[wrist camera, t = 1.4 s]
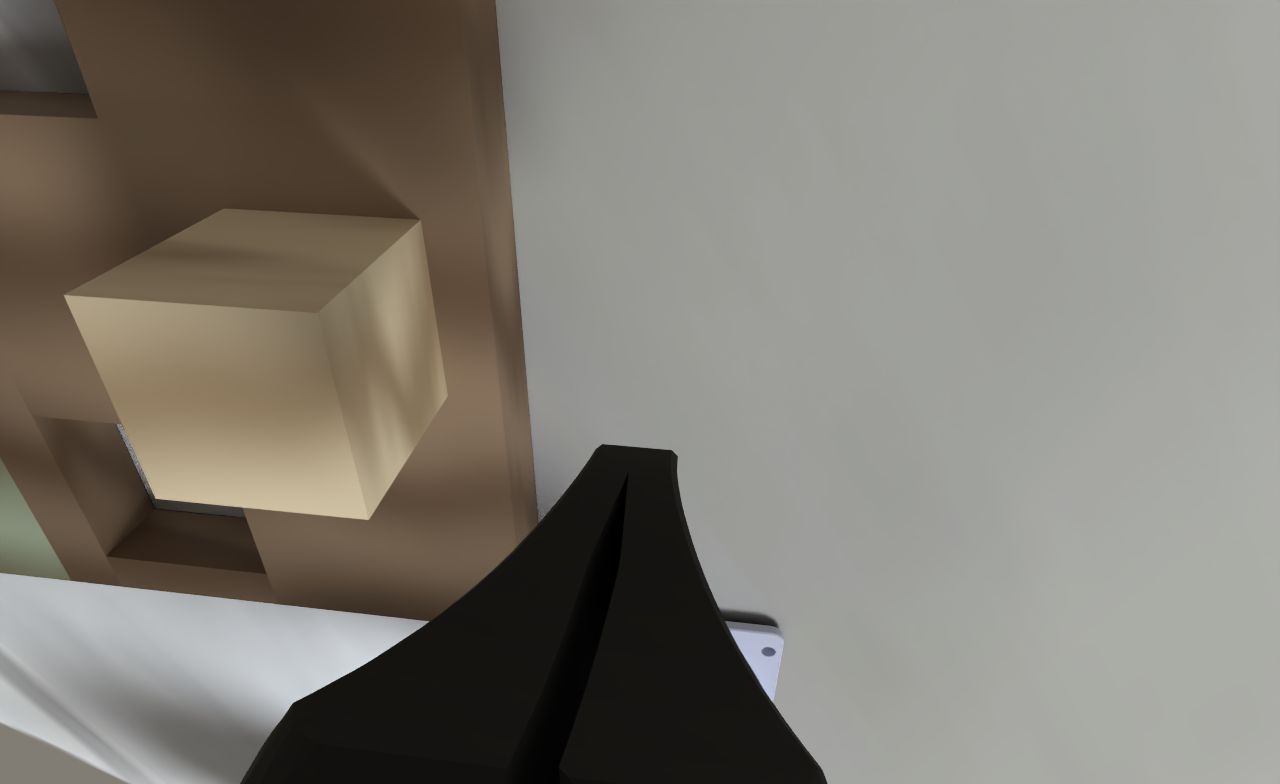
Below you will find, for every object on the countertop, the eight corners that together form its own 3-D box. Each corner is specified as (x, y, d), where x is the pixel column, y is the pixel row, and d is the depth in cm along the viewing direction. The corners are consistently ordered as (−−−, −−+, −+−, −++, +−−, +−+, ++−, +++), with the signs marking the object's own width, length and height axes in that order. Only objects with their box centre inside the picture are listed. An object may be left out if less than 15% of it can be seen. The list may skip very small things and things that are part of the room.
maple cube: (447, 396, 20) (368, 519, 16) (276, 382, 21) (155, 499, 16) (420, 219, 17) (317, 313, 13) (224, 208, 18) (63, 294, 14)
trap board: (543, 577, 27) (525, 631, 25) (-40, 516, 30) (-100, 561, 27) (471, -293, 14) (422, -332, 12) (-557, -280, 17) (-747, -309, 14)
